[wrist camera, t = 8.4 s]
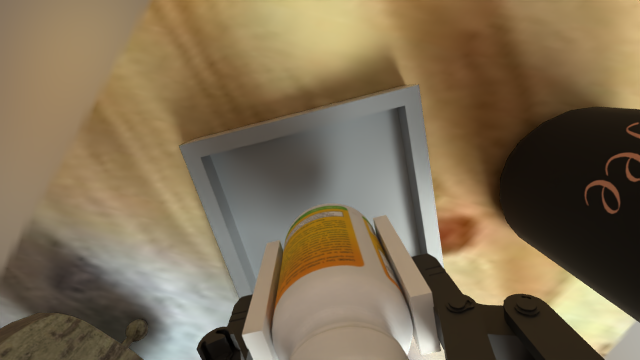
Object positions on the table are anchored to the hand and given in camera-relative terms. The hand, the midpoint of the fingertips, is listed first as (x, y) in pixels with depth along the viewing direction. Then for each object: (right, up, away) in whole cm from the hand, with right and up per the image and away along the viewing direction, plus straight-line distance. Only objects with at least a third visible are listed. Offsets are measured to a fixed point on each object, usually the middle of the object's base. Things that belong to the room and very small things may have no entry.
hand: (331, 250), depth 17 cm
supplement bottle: (0, 0, +1) cm, 1 cm away
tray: (0, +2, +6) cm, 6 cm away
